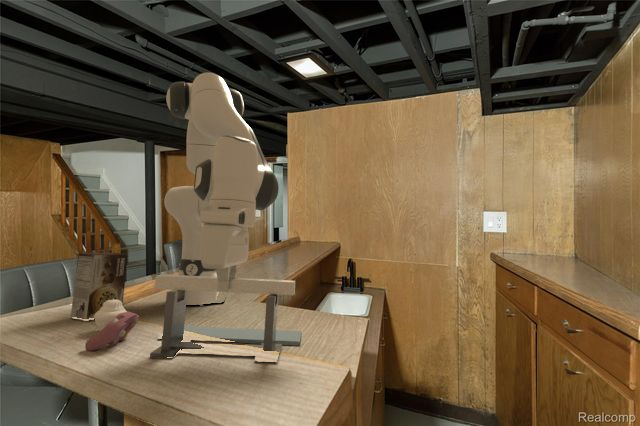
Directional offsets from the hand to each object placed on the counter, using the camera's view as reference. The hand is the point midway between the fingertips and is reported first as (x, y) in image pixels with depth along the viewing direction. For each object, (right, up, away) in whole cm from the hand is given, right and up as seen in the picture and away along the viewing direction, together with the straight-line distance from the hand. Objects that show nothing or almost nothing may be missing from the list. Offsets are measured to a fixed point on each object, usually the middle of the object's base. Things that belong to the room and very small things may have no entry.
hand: (226, 289), depth 59 cm
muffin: (-28, -11, +8) cm, 31 cm away
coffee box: (-39, -12, +20) cm, 45 cm away
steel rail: (0, 0, 0) cm, 0 cm away
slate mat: (-1, -13, +8) cm, 15 cm away
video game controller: (-22, -11, +1) cm, 25 cm away
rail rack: (-1, -11, -2) cm, 12 cm away
